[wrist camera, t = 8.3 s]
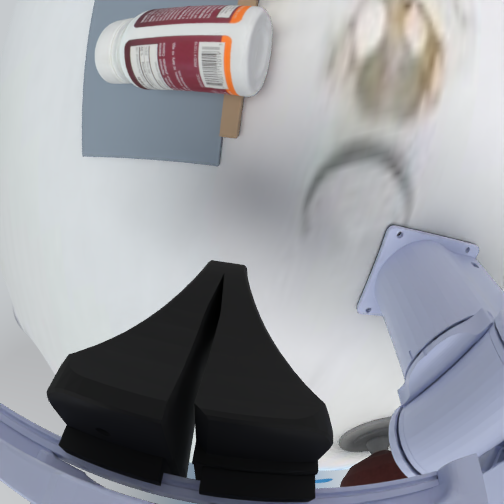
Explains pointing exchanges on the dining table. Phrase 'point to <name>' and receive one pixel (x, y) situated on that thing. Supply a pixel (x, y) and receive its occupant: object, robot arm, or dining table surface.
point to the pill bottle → (189, 49)
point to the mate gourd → (381, 460)
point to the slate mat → (152, 104)
